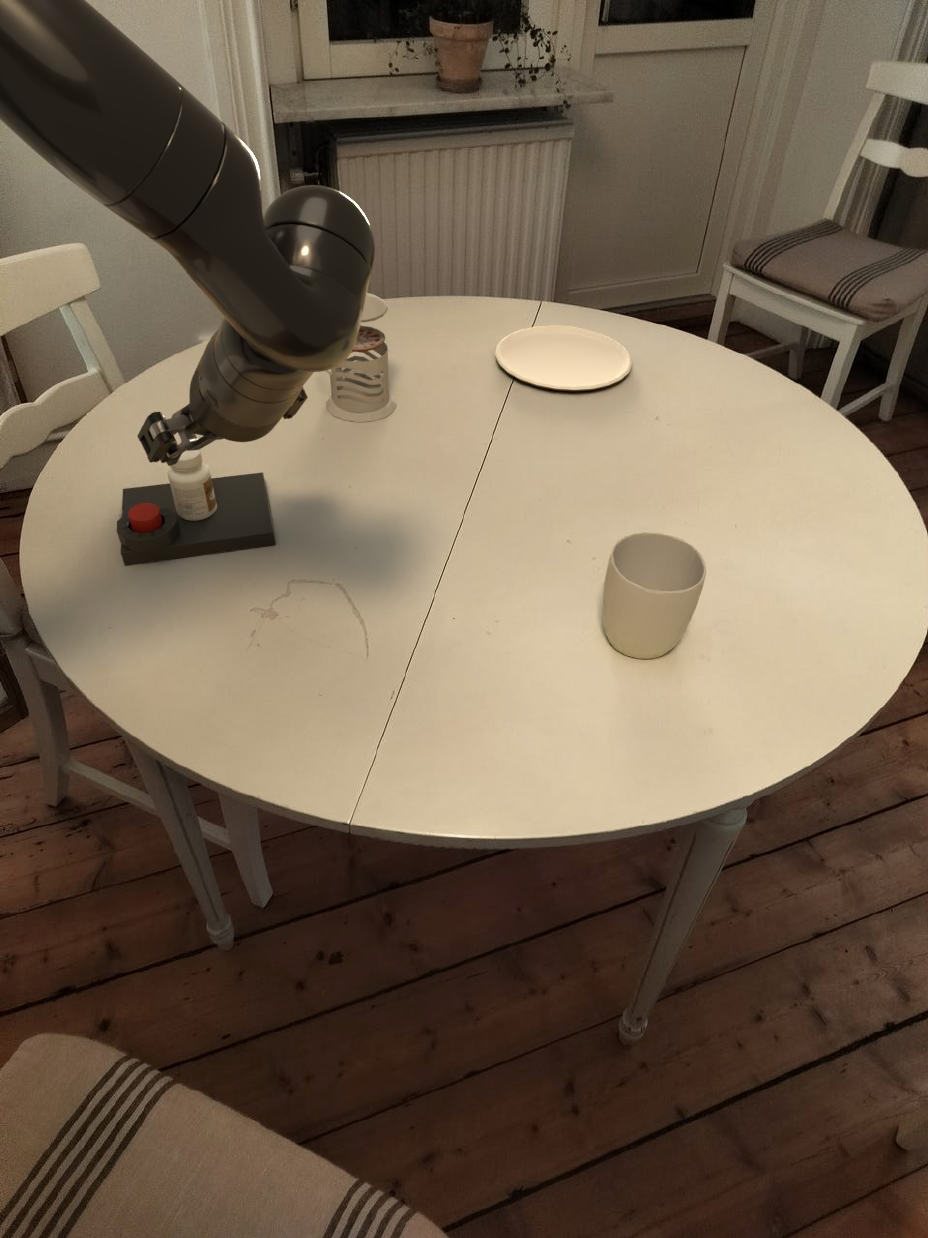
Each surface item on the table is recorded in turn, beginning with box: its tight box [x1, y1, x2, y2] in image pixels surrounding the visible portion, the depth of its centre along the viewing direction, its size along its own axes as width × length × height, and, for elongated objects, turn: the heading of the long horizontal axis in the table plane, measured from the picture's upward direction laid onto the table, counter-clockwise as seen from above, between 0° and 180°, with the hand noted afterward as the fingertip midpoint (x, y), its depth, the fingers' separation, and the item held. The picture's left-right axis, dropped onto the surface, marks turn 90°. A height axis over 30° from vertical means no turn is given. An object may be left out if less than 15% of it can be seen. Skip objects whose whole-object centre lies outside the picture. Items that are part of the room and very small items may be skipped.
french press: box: [325, 292, 398, 423], centre depth 107 cm, size 10×12×25 cm
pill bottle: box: [167, 443, 217, 521], centre depth 91 cm, size 4×4×8 cm
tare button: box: [128, 503, 163, 533], centre depth 89 cm, size 3×3×2 cm
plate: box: [494, 324, 633, 392], centre depth 126 cm, size 21×21×1 cm
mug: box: [602, 531, 707, 659], centre depth 82 cm, size 13×9×10 cm
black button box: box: [116, 472, 277, 567], centre depth 93 cm, size 16×12×4 cm
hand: (209, 441), depth 79 cm, fingers open, 8 cm apart
